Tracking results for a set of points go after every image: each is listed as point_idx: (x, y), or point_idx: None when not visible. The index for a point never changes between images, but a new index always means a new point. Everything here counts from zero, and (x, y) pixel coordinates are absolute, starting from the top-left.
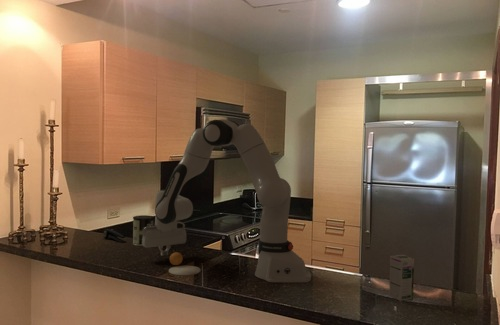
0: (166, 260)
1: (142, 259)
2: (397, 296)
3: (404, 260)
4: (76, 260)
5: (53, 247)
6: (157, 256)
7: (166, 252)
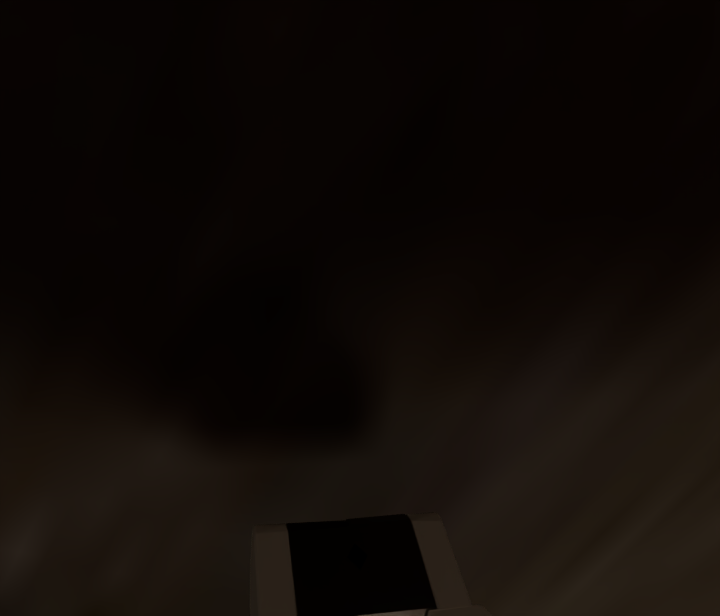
0: (369, 316)
1: (673, 542)
2: None
3: None
4: None
5: None
6: None
7: (318, 585)
